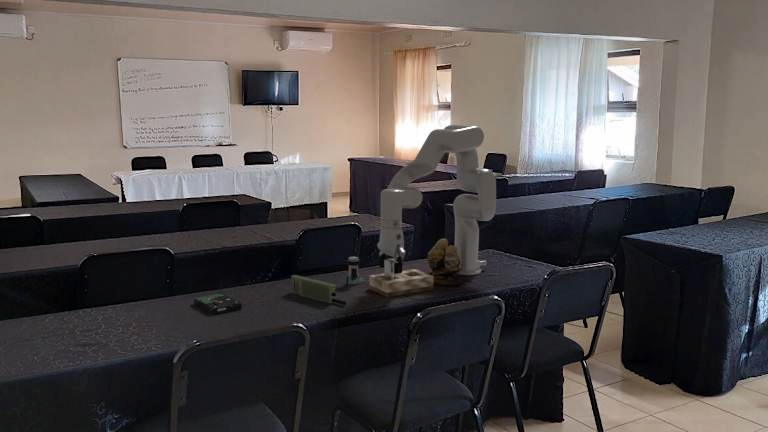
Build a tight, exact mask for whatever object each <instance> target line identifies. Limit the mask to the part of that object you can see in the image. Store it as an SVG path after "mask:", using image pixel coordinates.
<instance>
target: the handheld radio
mask: <svg viewBox="0 0 768 432" xmlns="http://www.w3.org/2000/svg"><path fill="white" fill-rule="evenodd" d="M290 277H291V278H290V281H291V284H290V285H291V294H294V295H298V296H302V297H304V298H308V299H311V300H314V301H320V302H322V303H323V302H324V303H326V302H327V304H330V303H331V304H334V302H335V304H339V305H343V306H346V305H347V301H345V300H340V299H338V298H335V297H336V296H337V293H336V292H335V291H336V286H337V285H336V284H334V283H330V282H326V281H322V280H318V279H313V278H310V277H309V278H308V277H305V276H300V275H297V274H293V275H291V276H290Z"/></svg>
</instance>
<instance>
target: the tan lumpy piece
mask: <svg viewBox="0 0 768 432" xmlns="http://www.w3.org/2000/svg"><path fill="white" fill-rule="evenodd" d="M427 263H428V267H429V269H430V270H431V272H428V273H427V274H429V275H432V276H434V277H433V286H439V287H444V288H445V287H455V286H462V279H460V277H458V276H457V275H458V274H457V273H459V271H461V270H462V267H459V265H460V258H459V256H458V255H457V247H455V245H452V244H450V245H449V241H448V239H447V238H441V239H438V241H436V243H435V244H434V245H433V247H431V249H430V251H428V253H427Z"/></svg>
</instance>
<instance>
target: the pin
mask: <svg viewBox="0 0 768 432" xmlns="http://www.w3.org/2000/svg"><path fill="white" fill-rule="evenodd" d="M394 263H395V260H394V258H388V259H385V260H384V268H383V270H384V272H383V274H384V279H386V280H393V279H395V274H394Z"/></svg>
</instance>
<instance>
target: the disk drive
mask: <svg viewBox="0 0 768 432" xmlns="http://www.w3.org/2000/svg"><path fill="white" fill-rule="evenodd" d="M193 303H194V306H197V307H198V308H200V309H202V310H204V311H206V312H207V313H209V314H211V315H213V316H215V315H220V314H224V313H225V314H226V313H229V312H230V313H231V312H235V311H241V310H243V302H241V301H239V300H237V299H235V298H233V297H231V296H228V295H227V294H225V293H223V292H219V293H214V294H207V295H205V296H198V297H195V298H194V300H193Z"/></svg>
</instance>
